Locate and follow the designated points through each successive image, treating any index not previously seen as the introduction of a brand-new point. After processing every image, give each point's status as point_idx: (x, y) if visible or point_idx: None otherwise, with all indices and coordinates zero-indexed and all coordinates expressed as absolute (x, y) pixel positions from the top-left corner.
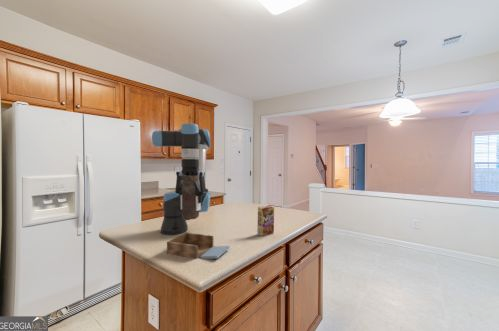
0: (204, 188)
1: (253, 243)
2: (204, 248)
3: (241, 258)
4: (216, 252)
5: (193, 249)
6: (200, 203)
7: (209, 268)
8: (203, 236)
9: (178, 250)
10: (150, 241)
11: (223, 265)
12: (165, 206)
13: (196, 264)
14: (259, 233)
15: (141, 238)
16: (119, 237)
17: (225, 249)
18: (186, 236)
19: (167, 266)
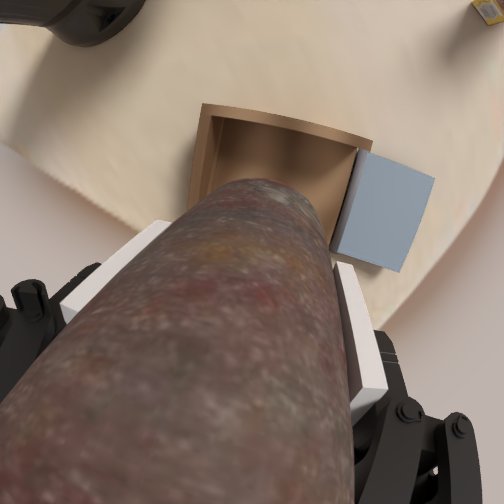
0: (457, 497)
1: (483, 92)
2: (327, 162)
3: (457, 223)
4: (393, 237)
5: None
6: (363, 308)
7: (373, 292)
8: (317, 135)
9: None
10: (80, 121)
11: (410, 272)
12: (4, 22)
13: None
14: (484, 14)
15: (48, 111)
16: (10, 132)
17: (422, 212)
18: (214, 119)
19: None
